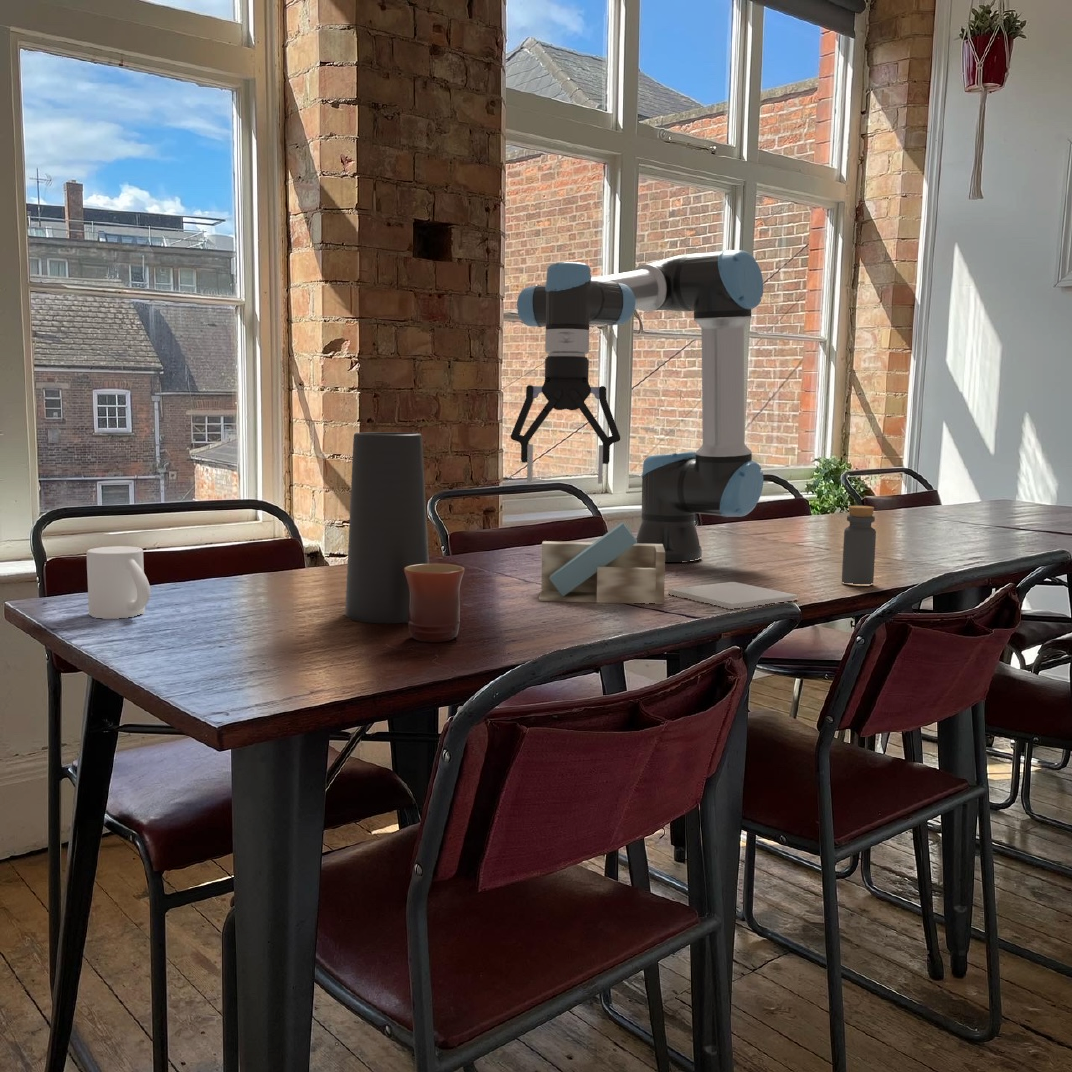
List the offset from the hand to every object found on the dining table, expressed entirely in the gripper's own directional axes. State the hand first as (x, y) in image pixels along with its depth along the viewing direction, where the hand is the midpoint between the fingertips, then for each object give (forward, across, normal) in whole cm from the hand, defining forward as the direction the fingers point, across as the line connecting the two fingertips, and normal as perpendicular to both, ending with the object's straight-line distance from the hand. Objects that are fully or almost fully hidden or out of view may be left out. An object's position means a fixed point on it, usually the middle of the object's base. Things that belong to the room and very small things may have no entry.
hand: (564, 482), depth 188 cm
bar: (+15, +6, 0) cm, 16 cm away
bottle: (+20, +56, +21) cm, 63 cm away
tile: (+20, +30, +3) cm, 36 cm away
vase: (+20, -27, -20) cm, 39 cm away
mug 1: (+20, -68, -26) cm, 75 cm away
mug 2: (+20, -17, -34) cm, 43 cm away
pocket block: (+20, +7, +1) cm, 21 cm away
